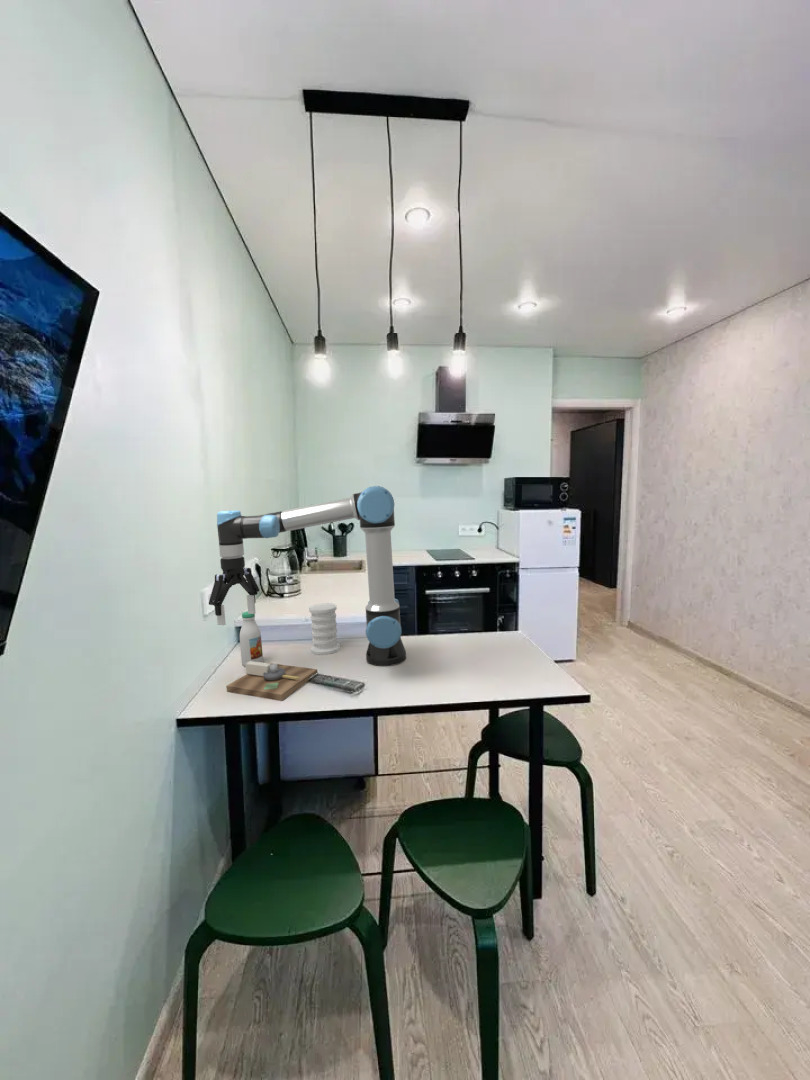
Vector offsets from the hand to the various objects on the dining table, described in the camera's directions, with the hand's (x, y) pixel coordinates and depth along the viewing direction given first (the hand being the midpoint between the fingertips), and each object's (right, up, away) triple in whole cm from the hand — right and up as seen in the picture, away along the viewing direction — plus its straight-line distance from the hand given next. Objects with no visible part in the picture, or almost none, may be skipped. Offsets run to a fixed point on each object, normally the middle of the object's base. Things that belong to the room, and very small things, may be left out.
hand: (237, 618), depth 148 cm
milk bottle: (-1, -21, +19) cm, 28 cm away
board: (+12, -22, 0) cm, 25 cm away
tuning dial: (+13, -20, 0) cm, 24 cm away
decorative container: (+25, -18, +30) cm, 43 cm away
